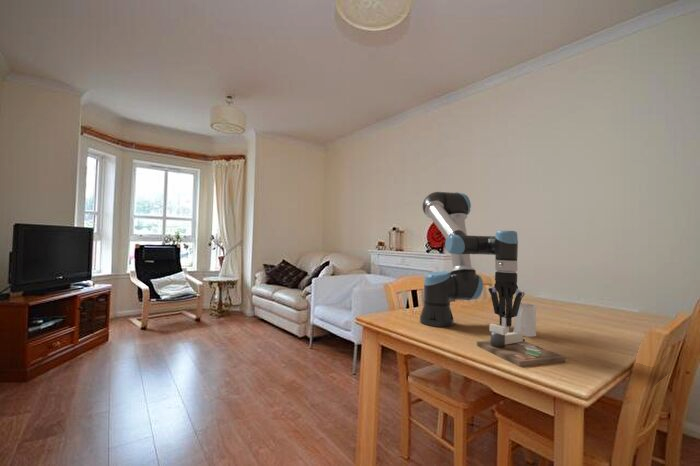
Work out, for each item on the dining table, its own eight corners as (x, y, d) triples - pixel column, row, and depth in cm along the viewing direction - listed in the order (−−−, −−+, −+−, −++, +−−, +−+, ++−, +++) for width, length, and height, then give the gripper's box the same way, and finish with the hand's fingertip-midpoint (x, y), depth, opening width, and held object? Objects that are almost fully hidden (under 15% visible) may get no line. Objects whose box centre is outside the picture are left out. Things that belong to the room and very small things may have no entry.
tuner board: (476, 345, 118) (476, 340, 118) (516, 342, 123) (516, 337, 123) (519, 366, 98) (519, 361, 98) (565, 361, 103) (565, 356, 103)
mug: (530, 339, 126) (530, 309, 126) (507, 334, 132) (507, 305, 132) (539, 334, 134) (539, 305, 135) (517, 329, 141) (517, 302, 141)
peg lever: (499, 348, 109) (500, 328, 110) (486, 343, 114) (486, 324, 115) (531, 342, 117) (531, 323, 117) (517, 338, 122) (517, 320, 122)
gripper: (484, 270, 125) (483, 331, 124) (518, 273, 114) (517, 340, 113) (495, 269, 129) (494, 329, 128) (528, 272, 118) (528, 337, 118)
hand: (505, 334), depth 121 cm, fingers closed
